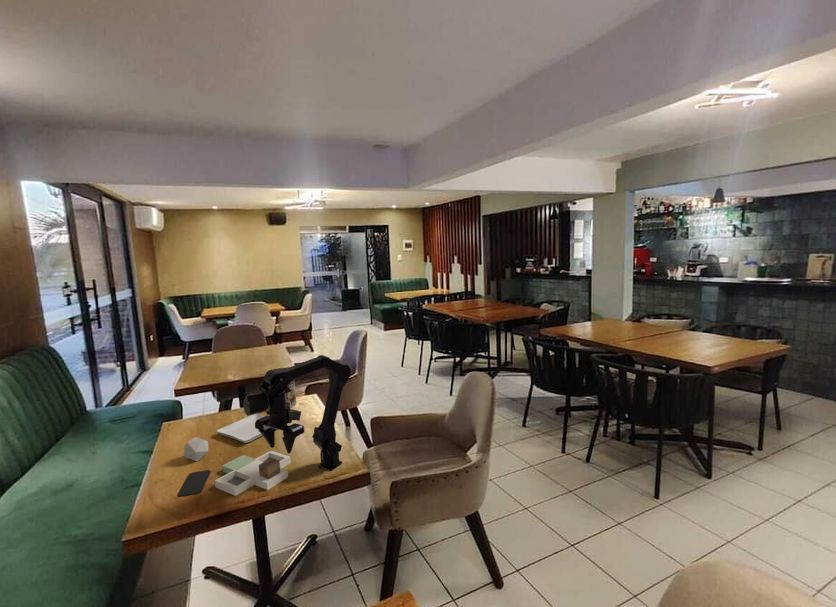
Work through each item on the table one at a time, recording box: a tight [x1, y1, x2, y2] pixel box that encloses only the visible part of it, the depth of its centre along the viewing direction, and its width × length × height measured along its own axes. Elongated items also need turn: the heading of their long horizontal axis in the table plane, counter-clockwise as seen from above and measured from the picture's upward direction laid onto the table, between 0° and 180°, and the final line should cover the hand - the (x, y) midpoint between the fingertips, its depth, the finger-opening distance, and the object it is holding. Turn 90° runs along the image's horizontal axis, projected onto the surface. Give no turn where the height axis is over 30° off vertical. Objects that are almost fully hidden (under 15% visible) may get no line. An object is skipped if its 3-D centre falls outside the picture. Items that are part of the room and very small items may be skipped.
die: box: [183, 436, 209, 462], centre depth 162 cm, size 8×9×10 cm
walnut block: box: [259, 459, 280, 479], centre depth 144 cm, size 5×5×4 cm
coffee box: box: [285, 379, 297, 409], centre depth 214 cm, size 9×6×16 cm
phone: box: [177, 469, 211, 498], centre depth 145 cm, size 7×1×15 cm
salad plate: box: [216, 413, 266, 444], centre depth 185 cm, size 21×21×3 cm
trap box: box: [214, 450, 292, 497], centre depth 149 cm, size 25×24×2 cm
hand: (281, 450), depth 140 cm, fingers open, 8 cm apart
